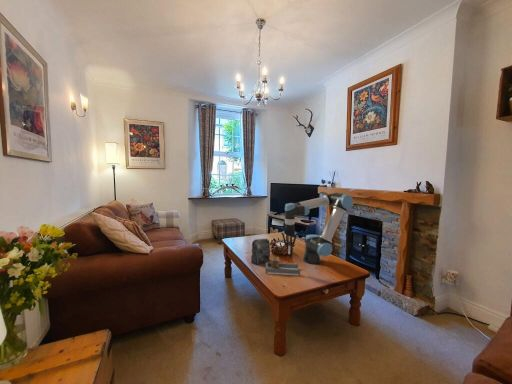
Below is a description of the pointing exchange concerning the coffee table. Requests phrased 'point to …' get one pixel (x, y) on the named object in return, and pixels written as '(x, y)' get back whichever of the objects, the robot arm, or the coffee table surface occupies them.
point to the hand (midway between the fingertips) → (289, 253)
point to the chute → (282, 269)
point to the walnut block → (274, 262)
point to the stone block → (260, 251)
